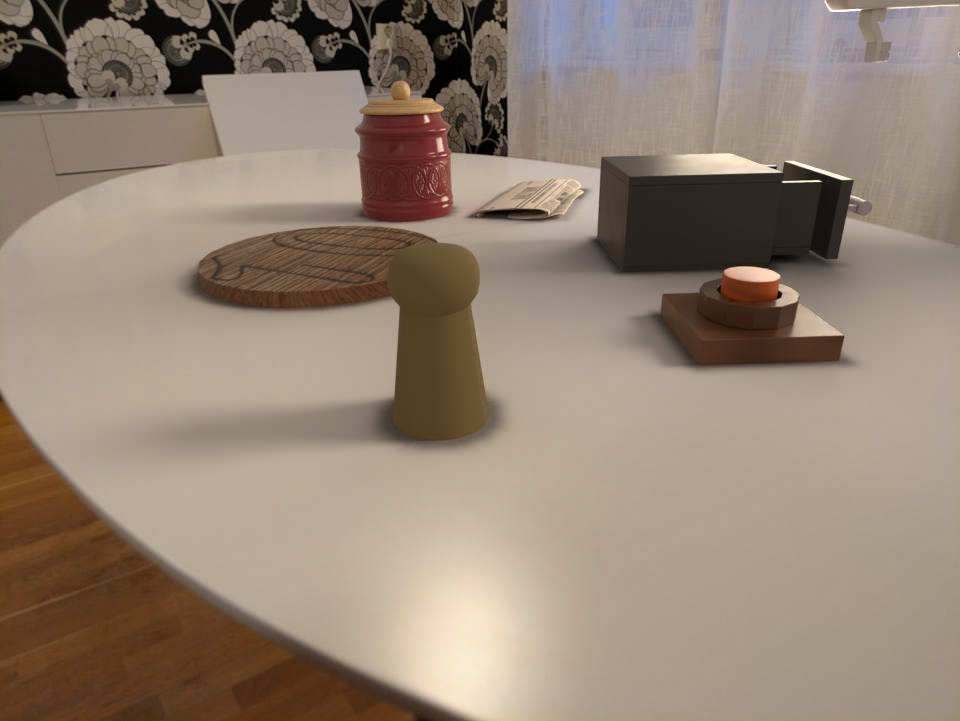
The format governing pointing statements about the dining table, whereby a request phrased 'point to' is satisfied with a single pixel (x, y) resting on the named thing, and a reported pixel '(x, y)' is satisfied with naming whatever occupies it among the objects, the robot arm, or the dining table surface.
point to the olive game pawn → (437, 343)
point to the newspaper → (536, 199)
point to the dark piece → (813, 211)
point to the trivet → (306, 266)
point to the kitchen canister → (404, 158)
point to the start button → (750, 284)
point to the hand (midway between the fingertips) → (923, 60)
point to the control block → (748, 328)
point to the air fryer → (687, 212)
